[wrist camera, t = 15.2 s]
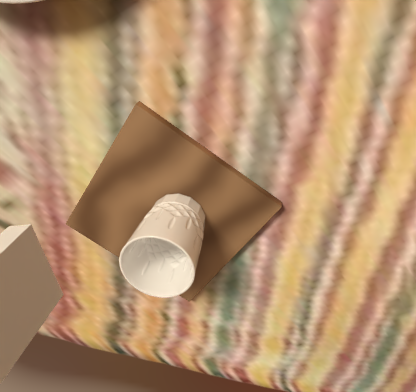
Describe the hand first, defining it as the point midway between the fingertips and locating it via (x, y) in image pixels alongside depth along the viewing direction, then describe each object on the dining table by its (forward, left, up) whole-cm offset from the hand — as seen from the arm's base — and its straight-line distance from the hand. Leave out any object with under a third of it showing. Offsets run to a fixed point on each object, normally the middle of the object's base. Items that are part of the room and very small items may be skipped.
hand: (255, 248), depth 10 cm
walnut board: (-1, +22, -32) cm, 39 cm away
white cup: (-2, +21, -31) cm, 37 cm away
